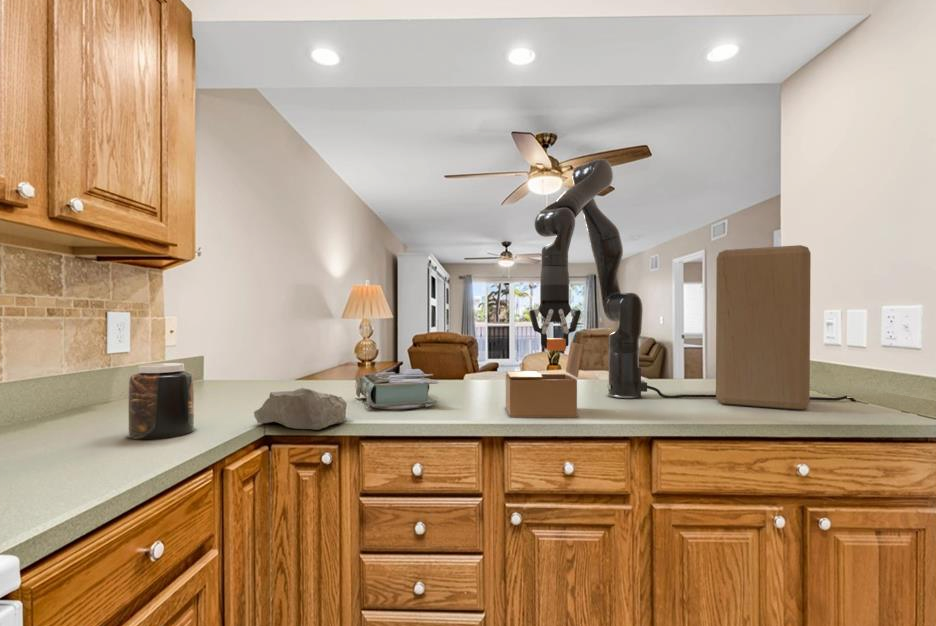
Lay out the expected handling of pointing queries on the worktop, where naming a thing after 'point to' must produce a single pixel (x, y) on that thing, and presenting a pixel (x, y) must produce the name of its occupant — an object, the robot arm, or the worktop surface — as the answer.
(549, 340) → the block
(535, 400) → the open shipping carton
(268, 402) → the stone
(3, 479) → the worktop surface
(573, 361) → the cardboard box flap
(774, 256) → the wooden block
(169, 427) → the jar
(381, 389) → the ornate book
